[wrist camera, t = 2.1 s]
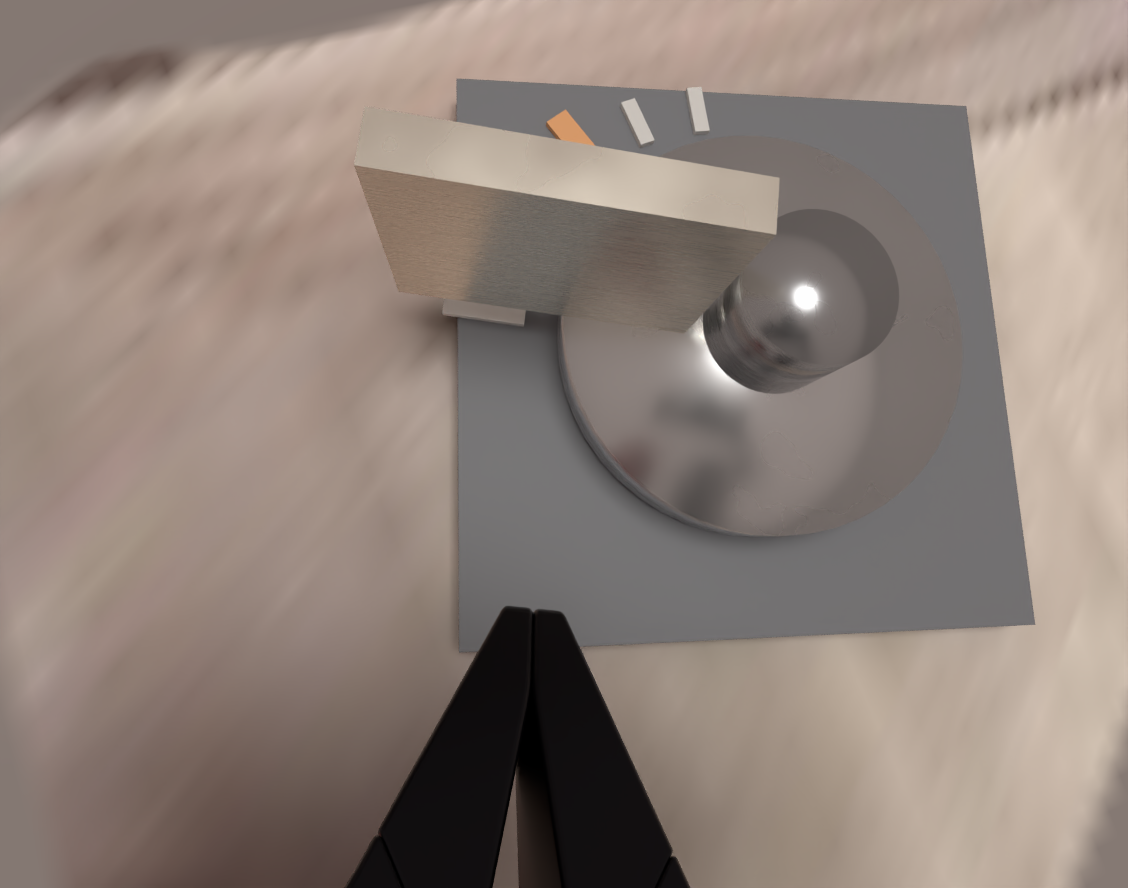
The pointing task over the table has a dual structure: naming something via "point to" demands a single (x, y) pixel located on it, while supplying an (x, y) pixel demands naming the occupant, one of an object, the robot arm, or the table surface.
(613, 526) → the panel
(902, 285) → the dial
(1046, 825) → the table surface
